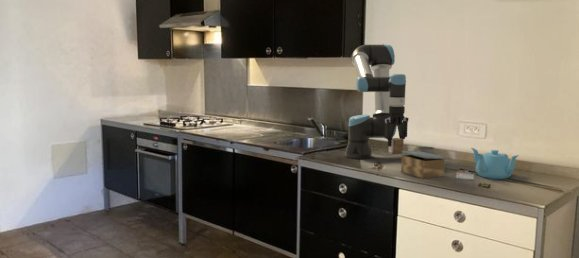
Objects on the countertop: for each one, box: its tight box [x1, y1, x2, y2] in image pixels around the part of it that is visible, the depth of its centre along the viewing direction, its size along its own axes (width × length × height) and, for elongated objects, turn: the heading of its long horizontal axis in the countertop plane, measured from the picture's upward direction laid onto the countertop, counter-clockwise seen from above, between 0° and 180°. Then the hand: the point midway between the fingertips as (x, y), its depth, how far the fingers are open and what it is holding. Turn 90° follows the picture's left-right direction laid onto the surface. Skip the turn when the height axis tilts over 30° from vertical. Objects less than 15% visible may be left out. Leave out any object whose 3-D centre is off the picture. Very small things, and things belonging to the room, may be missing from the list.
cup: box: [417, 146, 436, 155], centre depth 248 cm, size 8×8×10 cm
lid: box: [401, 150, 446, 159], centre depth 233 cm, size 17×12×1 cm
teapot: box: [470, 147, 520, 180], centre depth 229 cm, size 17×19×12 cm
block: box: [387, 137, 404, 155], centre depth 243 cm, size 5×5×7 cm
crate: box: [400, 154, 446, 179], centre depth 234 cm, size 16×12×8 cm
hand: (395, 151), depth 244 cm, fingers closed on block, 5 cm apart
